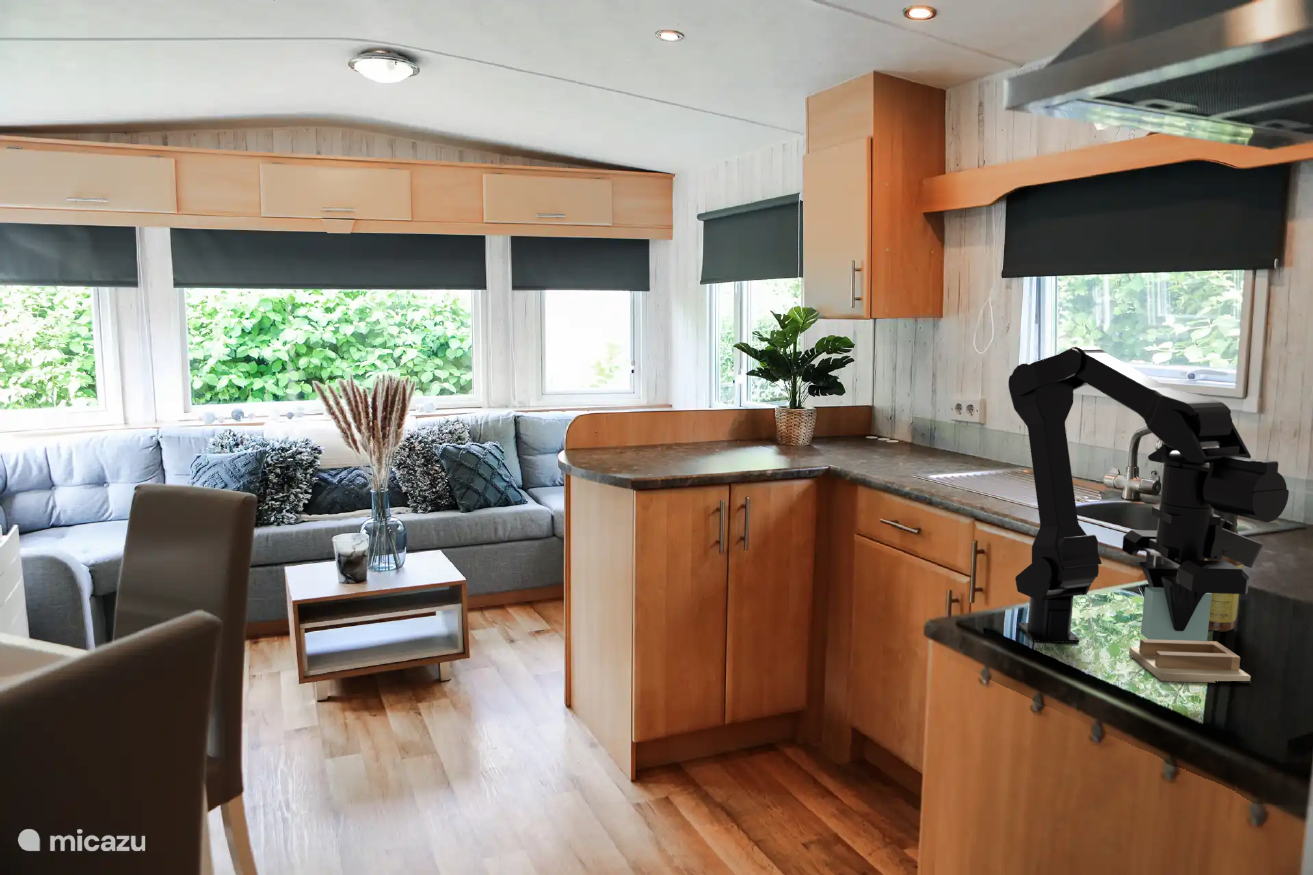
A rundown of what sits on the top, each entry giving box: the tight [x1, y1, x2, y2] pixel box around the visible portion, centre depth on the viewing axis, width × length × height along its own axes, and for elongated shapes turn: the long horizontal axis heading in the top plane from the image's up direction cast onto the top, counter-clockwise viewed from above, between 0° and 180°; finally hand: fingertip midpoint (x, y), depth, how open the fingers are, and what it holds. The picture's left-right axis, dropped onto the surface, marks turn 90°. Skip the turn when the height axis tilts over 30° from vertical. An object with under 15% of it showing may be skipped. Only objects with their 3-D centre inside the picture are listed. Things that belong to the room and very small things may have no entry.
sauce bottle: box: [1205, 510, 1244, 633], centre depth 138 cm, size 7×6×20 cm
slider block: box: [1140, 586, 1212, 641], centre depth 115 cm, size 2×7×6 cm, turn 87°
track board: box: [1128, 638, 1251, 683], centre depth 123 cm, size 9×11×3 cm
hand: (1174, 627), depth 115 cm, fingers closed on slider block, 2 cm apart
